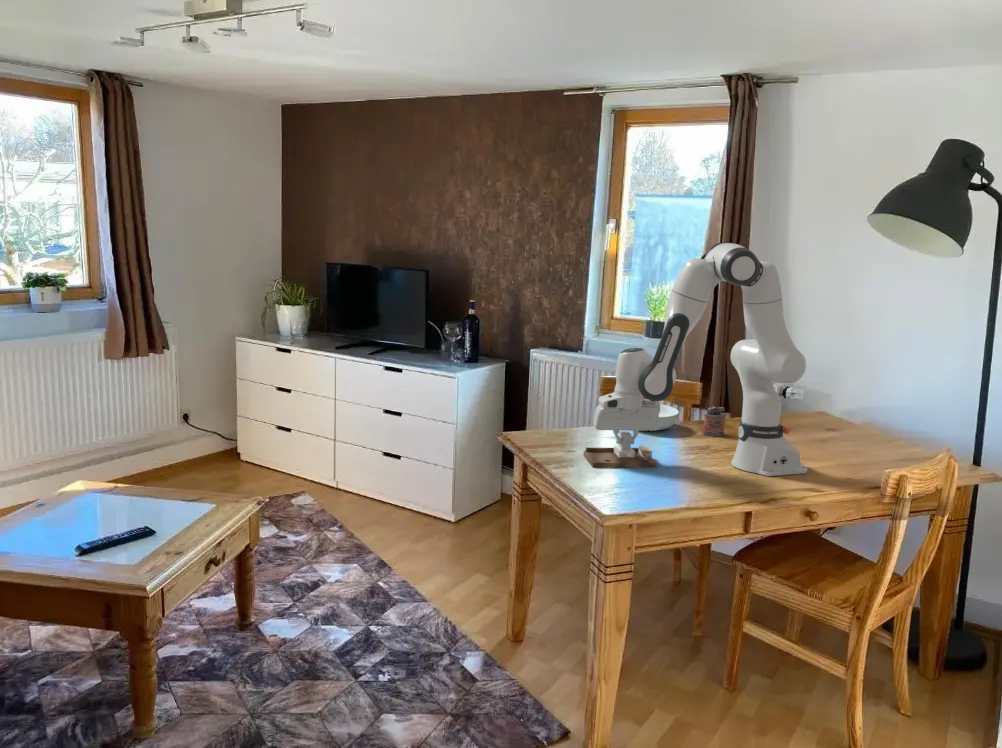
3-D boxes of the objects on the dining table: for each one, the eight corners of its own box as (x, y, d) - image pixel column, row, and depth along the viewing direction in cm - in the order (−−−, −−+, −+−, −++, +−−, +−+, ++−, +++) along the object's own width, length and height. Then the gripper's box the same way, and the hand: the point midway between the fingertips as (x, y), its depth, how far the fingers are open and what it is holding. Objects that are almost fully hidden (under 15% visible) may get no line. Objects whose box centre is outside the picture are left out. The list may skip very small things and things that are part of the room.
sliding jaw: (629, 451, 253) (630, 430, 251) (637, 460, 244) (639, 438, 242) (613, 451, 252) (615, 430, 251) (621, 460, 243) (623, 438, 242)
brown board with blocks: (644, 455, 255) (645, 444, 254) (656, 467, 244) (657, 455, 243) (583, 455, 252) (584, 444, 252) (592, 467, 241) (593, 455, 240)
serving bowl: (608, 421, 296) (609, 403, 294) (657, 418, 303) (659, 401, 302) (637, 437, 277) (638, 417, 275) (688, 433, 284) (690, 414, 283)
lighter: (704, 436, 282) (707, 408, 280) (700, 433, 285) (703, 406, 283) (725, 435, 283) (728, 408, 281) (720, 433, 287) (723, 405, 285)
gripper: (657, 398, 250) (653, 440, 253) (593, 397, 248) (590, 440, 250) (664, 403, 244) (660, 446, 247) (598, 402, 241) (595, 446, 244)
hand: (624, 443), depth 249 cm, fingers closed on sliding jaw, 2 cm apart
